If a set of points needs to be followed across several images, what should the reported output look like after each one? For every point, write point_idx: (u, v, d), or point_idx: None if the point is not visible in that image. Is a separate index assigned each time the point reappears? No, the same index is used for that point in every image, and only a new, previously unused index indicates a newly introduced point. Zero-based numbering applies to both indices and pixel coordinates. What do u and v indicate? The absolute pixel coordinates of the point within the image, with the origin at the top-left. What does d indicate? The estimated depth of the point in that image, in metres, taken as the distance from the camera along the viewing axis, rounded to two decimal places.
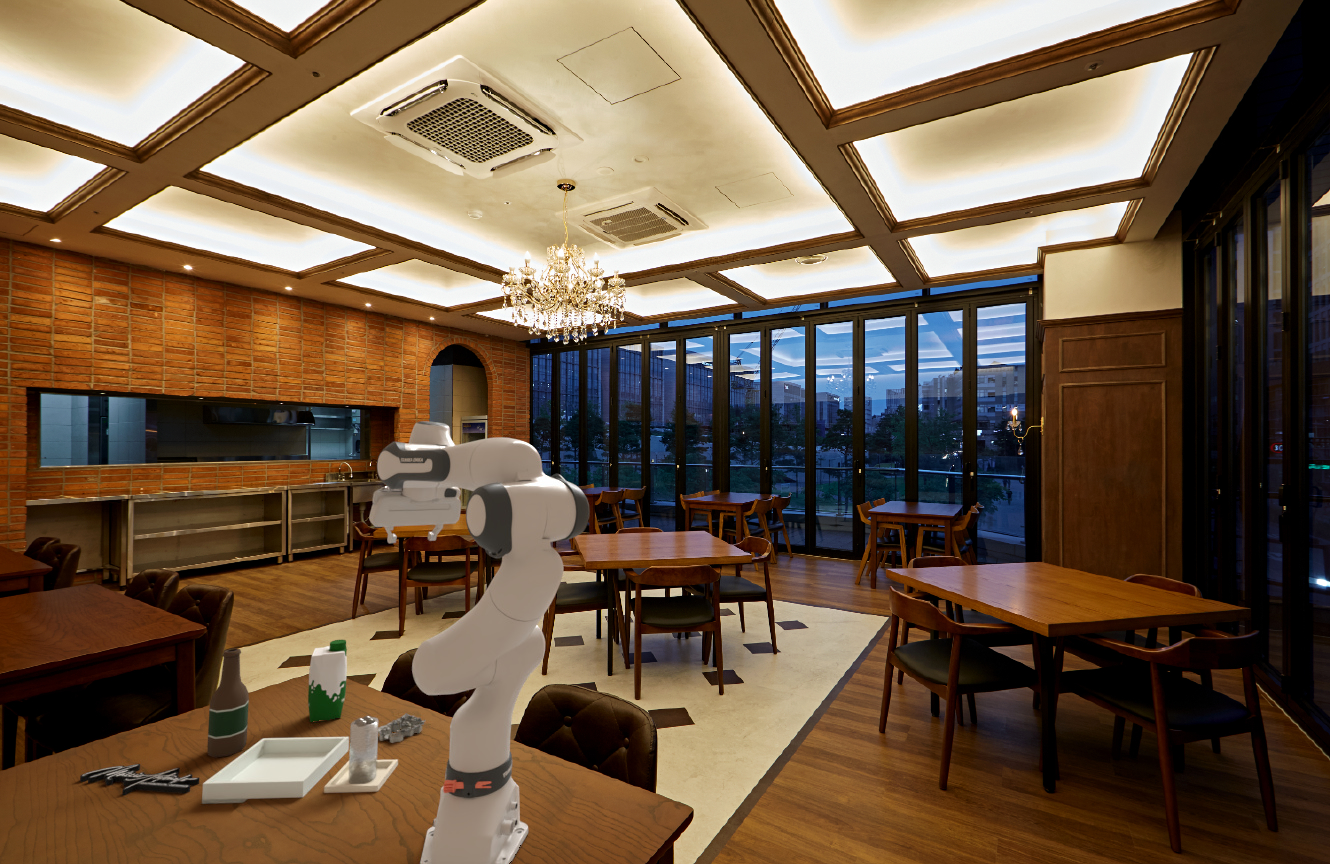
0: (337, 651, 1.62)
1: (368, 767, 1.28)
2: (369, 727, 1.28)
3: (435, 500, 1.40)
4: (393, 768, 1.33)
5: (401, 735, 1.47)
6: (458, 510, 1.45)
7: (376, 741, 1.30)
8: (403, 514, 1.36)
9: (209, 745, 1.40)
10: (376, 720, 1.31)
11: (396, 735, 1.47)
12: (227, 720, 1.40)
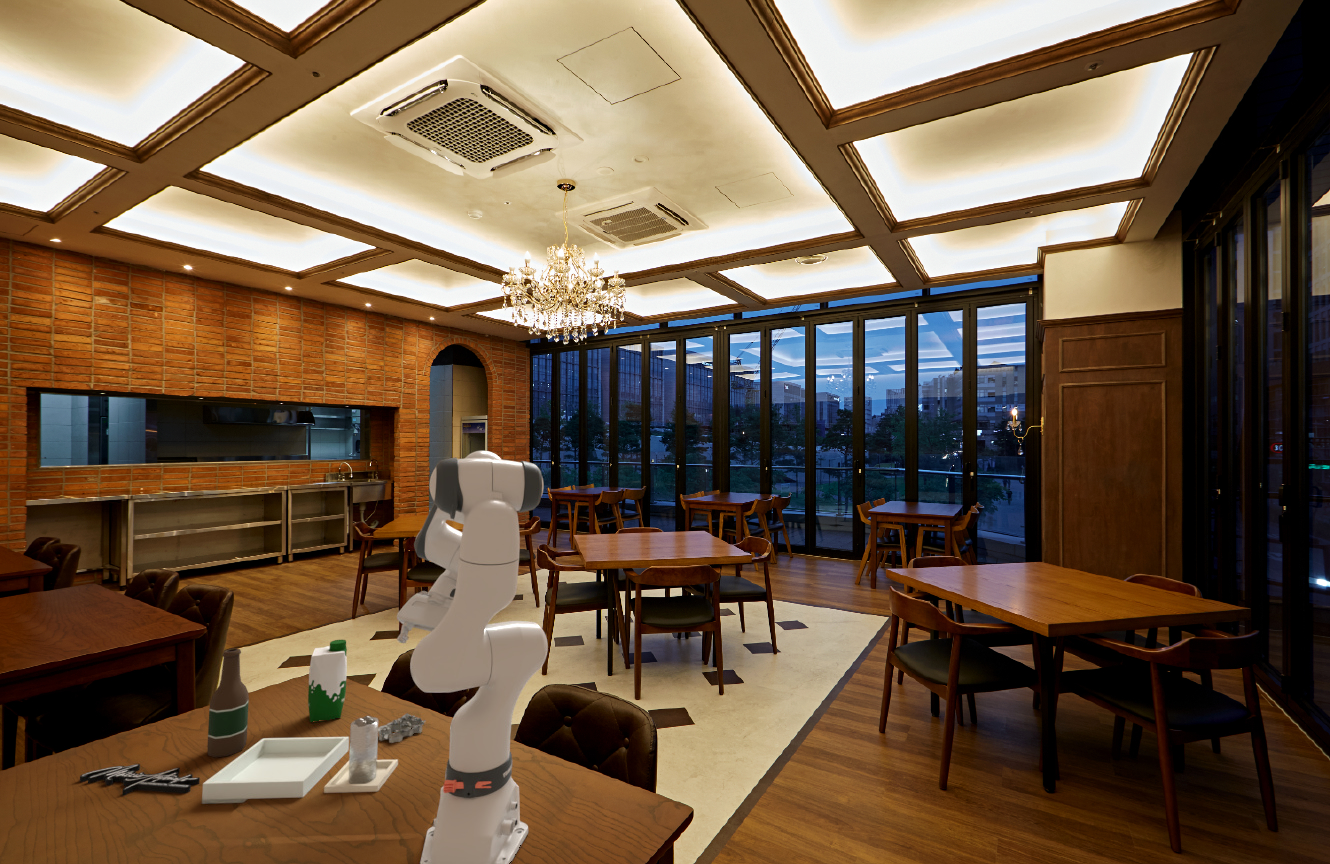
0: (337, 651, 1.62)
1: (368, 767, 1.28)
2: (369, 727, 1.28)
3: None
4: (393, 768, 1.33)
5: (400, 735, 1.47)
6: None
7: (376, 741, 1.30)
8: (418, 610, 1.47)
9: (209, 745, 1.40)
10: (376, 720, 1.31)
11: (395, 735, 1.47)
12: (227, 720, 1.40)
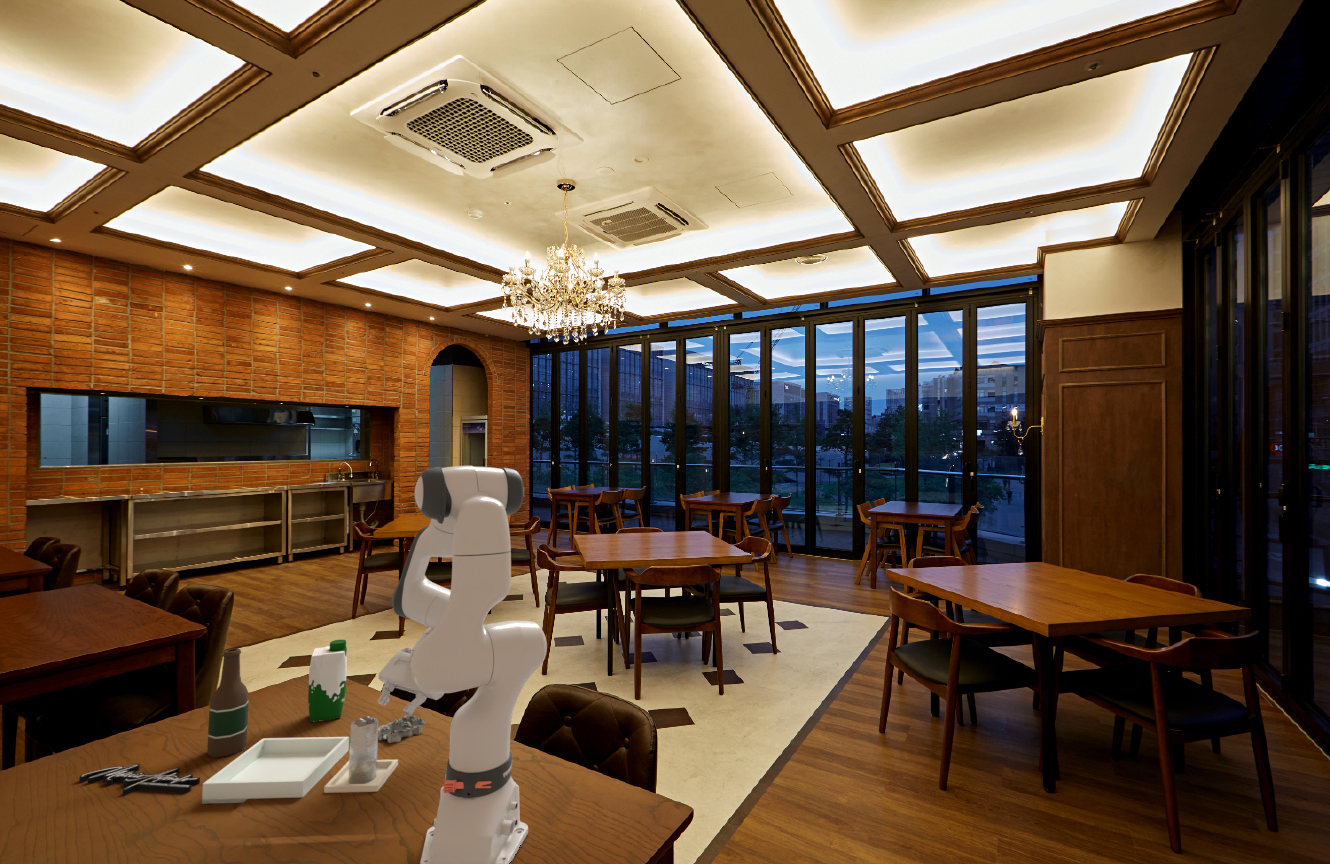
0: (337, 651, 1.62)
1: (368, 767, 1.28)
2: (369, 727, 1.28)
3: None
4: (393, 768, 1.33)
5: (399, 735, 1.47)
6: None
7: (376, 741, 1.30)
8: (400, 670, 1.42)
9: (209, 745, 1.40)
10: (376, 720, 1.31)
11: (394, 735, 1.47)
12: (227, 720, 1.40)
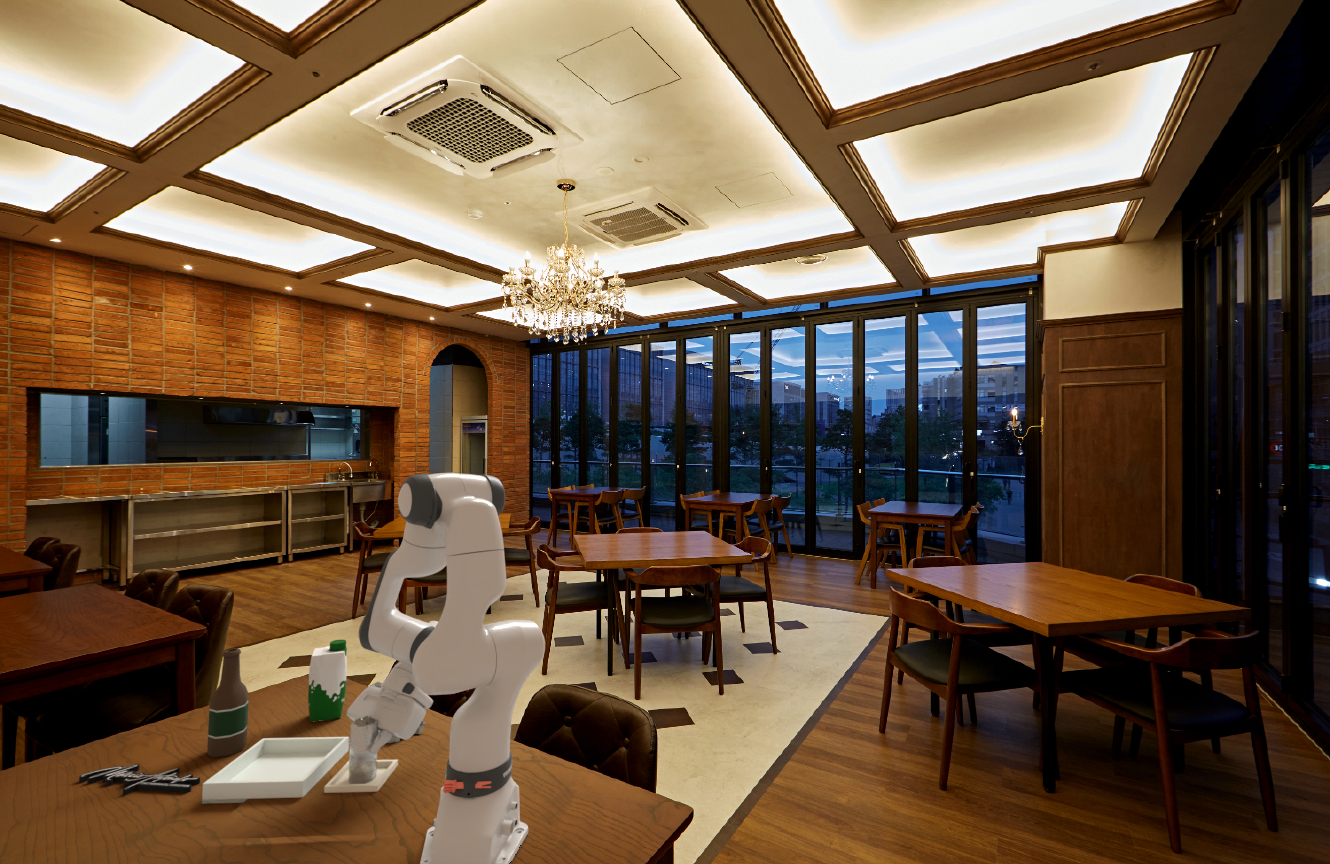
0: (337, 651, 1.62)
1: (368, 767, 1.28)
2: (369, 727, 1.28)
3: None
4: (393, 768, 1.33)
5: None
6: (406, 715, 1.29)
7: None
8: (369, 707, 1.35)
9: (209, 745, 1.40)
10: (376, 720, 1.31)
11: None
12: (227, 720, 1.40)
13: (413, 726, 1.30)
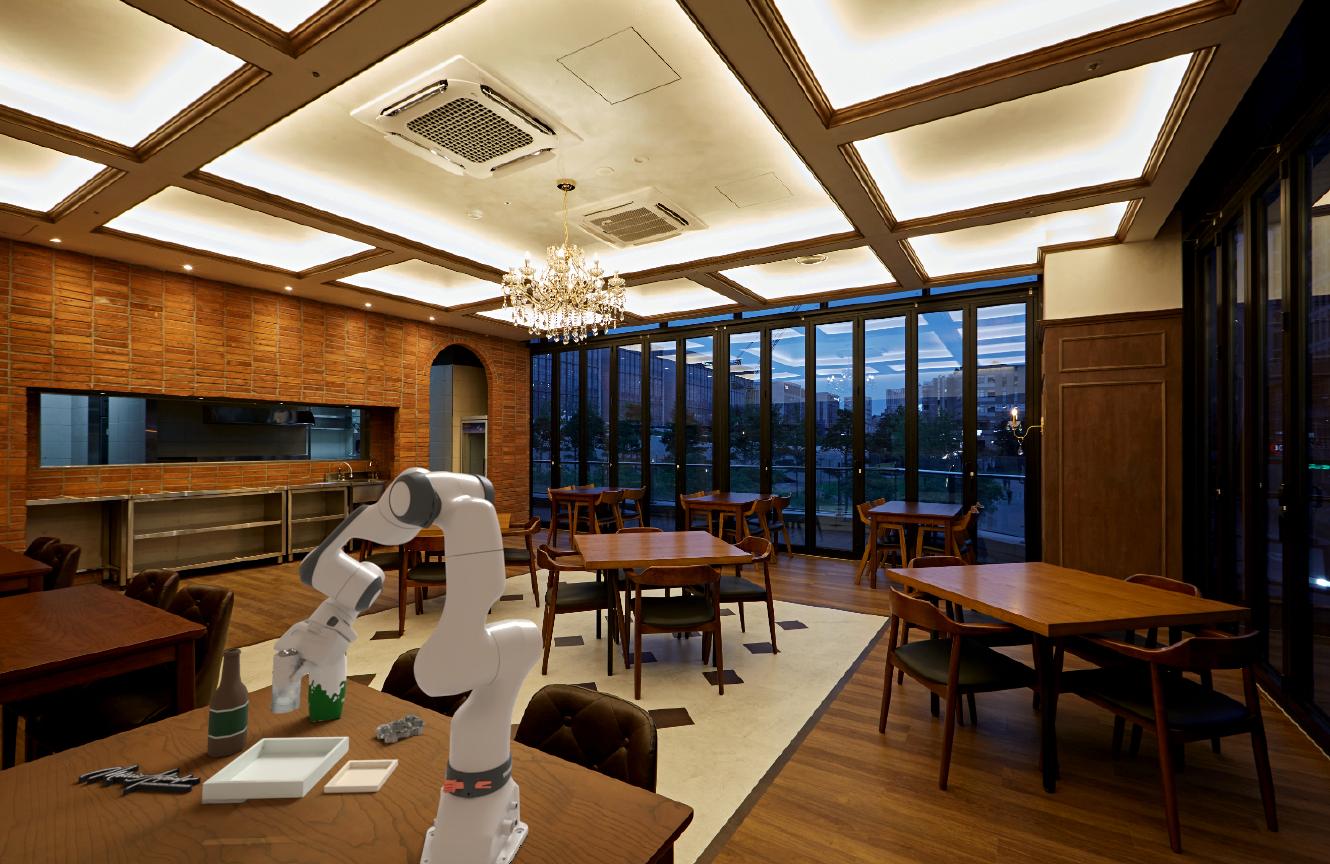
0: None
1: (290, 696, 1.31)
2: (292, 658, 1.31)
3: None
4: (393, 768, 1.33)
5: (395, 736, 1.47)
6: (328, 645, 1.32)
7: None
8: (295, 640, 1.38)
9: (209, 745, 1.40)
10: None
11: (390, 736, 1.46)
12: (227, 720, 1.40)
13: (335, 657, 1.32)
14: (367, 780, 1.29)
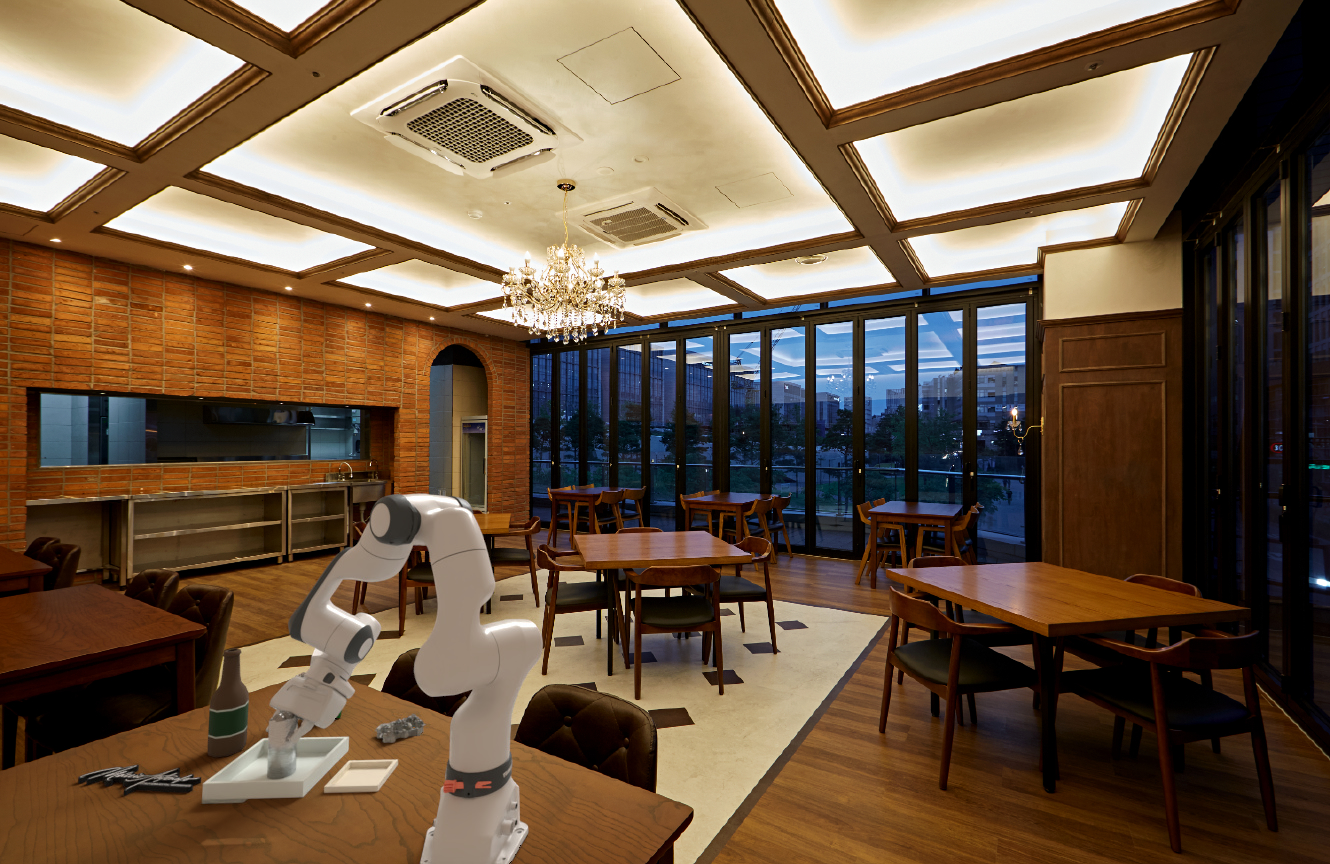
0: None
1: (286, 761, 1.30)
2: (287, 722, 1.30)
3: None
4: (393, 768, 1.33)
5: (393, 736, 1.47)
6: (324, 704, 1.31)
7: None
8: (291, 696, 1.37)
9: (209, 745, 1.40)
10: None
11: (388, 736, 1.46)
12: (227, 720, 1.40)
13: (331, 715, 1.31)
14: (367, 780, 1.29)
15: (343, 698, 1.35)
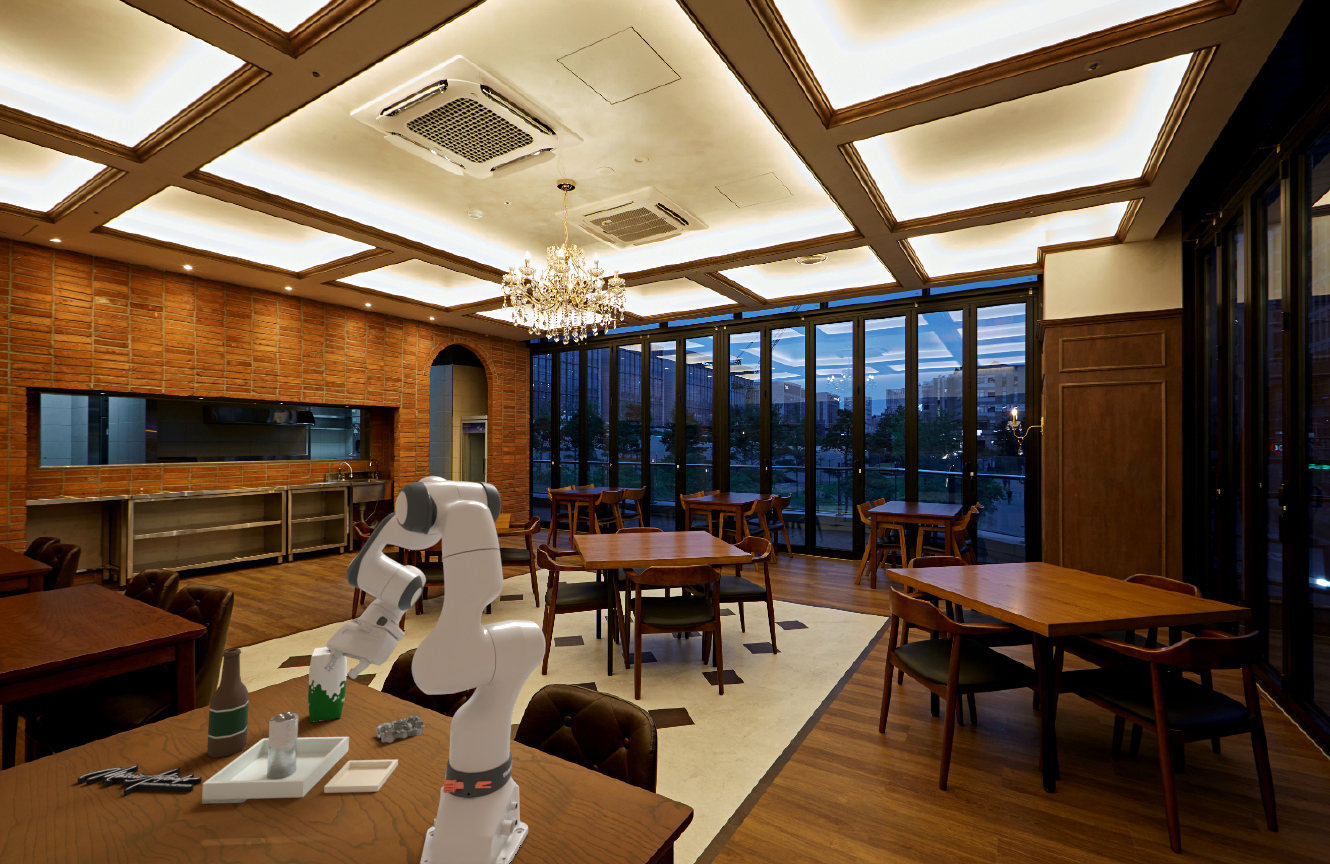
0: None
1: (286, 762, 1.30)
2: (288, 723, 1.30)
3: None
4: (393, 768, 1.33)
5: (391, 736, 1.47)
6: (379, 643, 1.43)
7: (295, 736, 1.32)
8: (346, 639, 1.49)
9: (209, 745, 1.40)
10: (296, 716, 1.33)
11: (386, 736, 1.46)
12: (227, 720, 1.40)
13: (385, 653, 1.43)
14: (367, 780, 1.29)
15: (395, 639, 1.47)
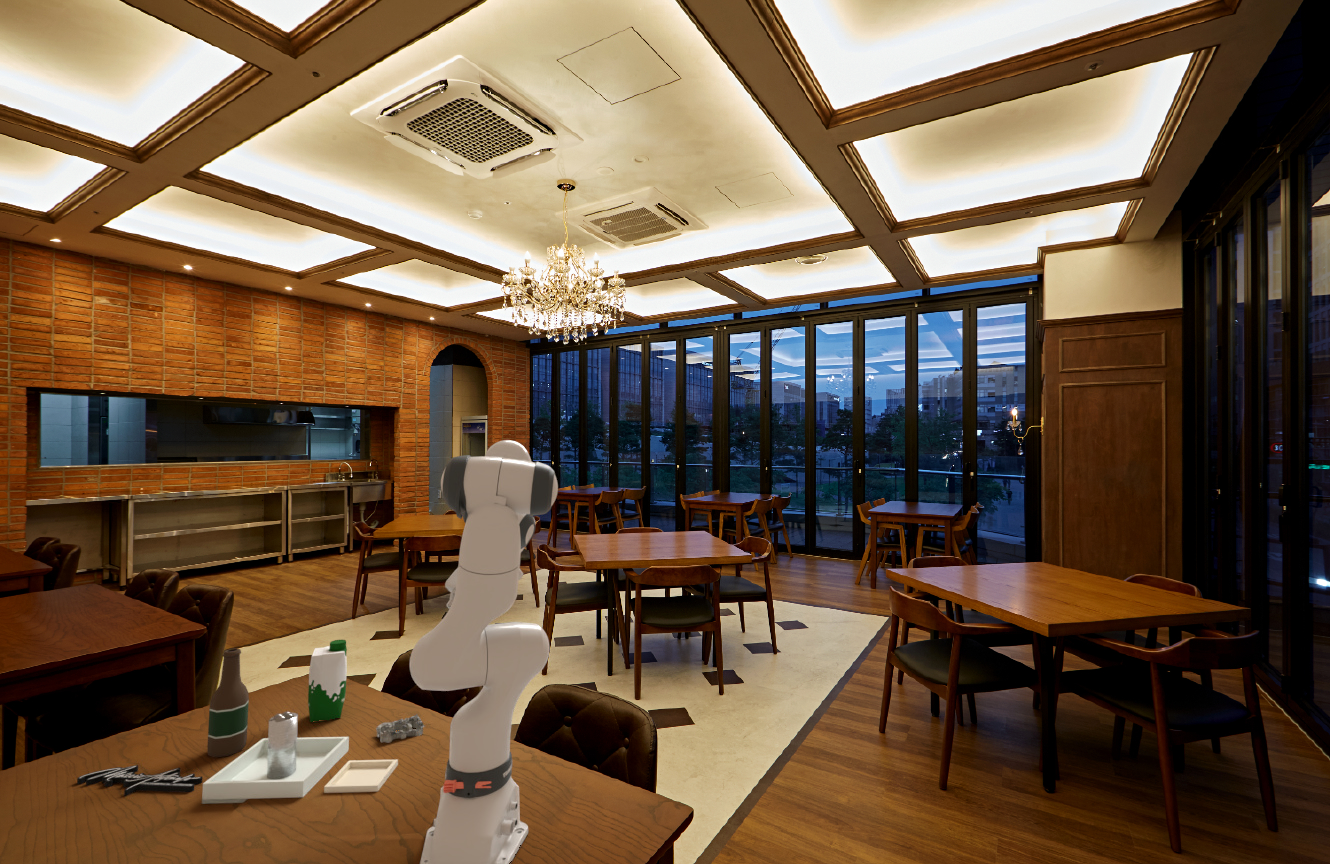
0: (337, 651, 1.62)
1: (286, 761, 1.30)
2: (287, 722, 1.30)
3: None
4: (393, 768, 1.33)
5: (389, 736, 1.46)
6: None
7: (295, 736, 1.32)
8: None
9: (209, 745, 1.40)
10: (295, 715, 1.33)
11: (384, 735, 1.46)
12: (227, 720, 1.40)
13: None
14: (367, 780, 1.29)
15: None
